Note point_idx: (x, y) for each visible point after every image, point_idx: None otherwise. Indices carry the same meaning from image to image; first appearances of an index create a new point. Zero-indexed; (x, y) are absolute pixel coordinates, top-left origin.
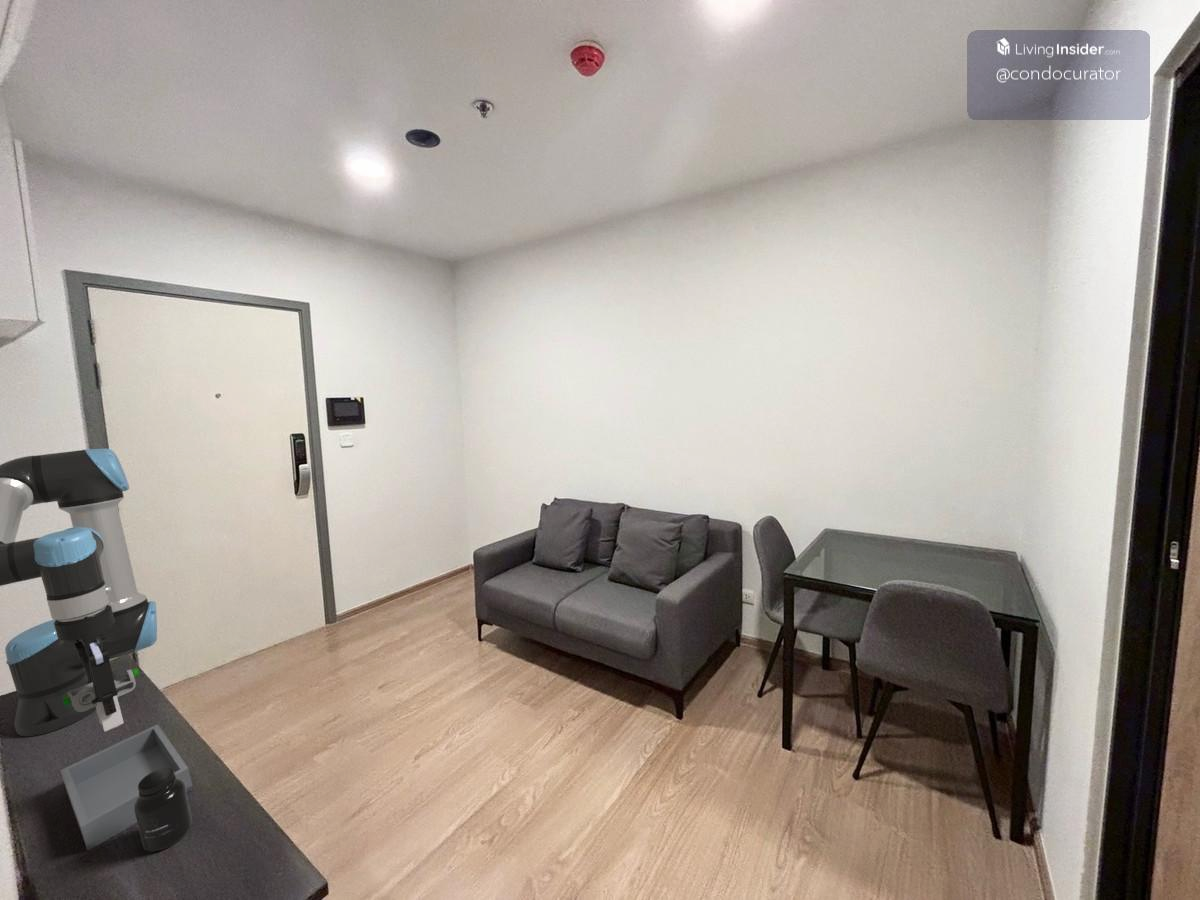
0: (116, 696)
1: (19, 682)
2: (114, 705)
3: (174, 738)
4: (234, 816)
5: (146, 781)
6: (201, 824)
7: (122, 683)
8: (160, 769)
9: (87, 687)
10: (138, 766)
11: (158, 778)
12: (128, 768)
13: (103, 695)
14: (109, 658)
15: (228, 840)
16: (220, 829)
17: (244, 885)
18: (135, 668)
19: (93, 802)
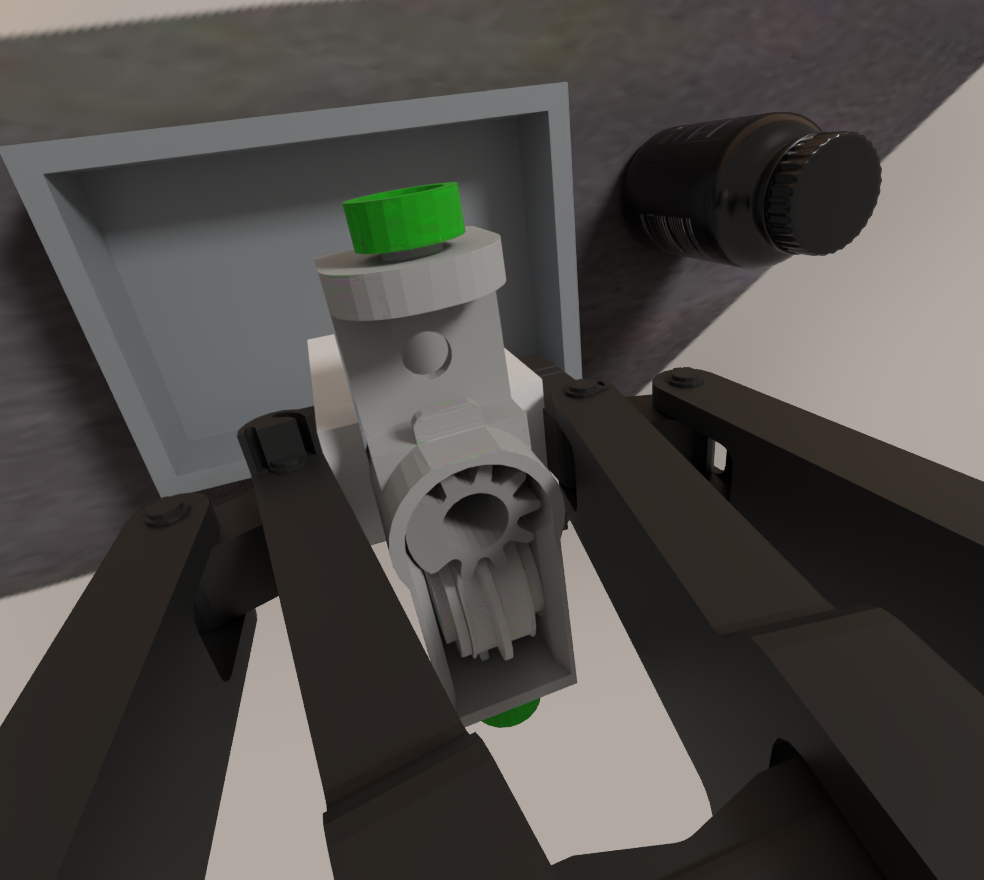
0: (533, 372)
1: None
2: (565, 373)
3: (34, 94)
4: (763, 13)
5: (825, 228)
6: (707, 106)
7: (474, 342)
8: (806, 175)
9: (494, 616)
10: (229, 251)
11: (851, 188)
12: (214, 284)
13: (712, 467)
14: (882, 619)
15: (827, 57)
16: (773, 64)
17: (969, 65)
18: (390, 208)
19: None
